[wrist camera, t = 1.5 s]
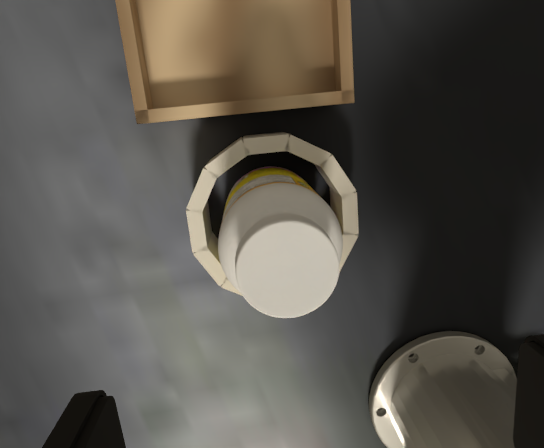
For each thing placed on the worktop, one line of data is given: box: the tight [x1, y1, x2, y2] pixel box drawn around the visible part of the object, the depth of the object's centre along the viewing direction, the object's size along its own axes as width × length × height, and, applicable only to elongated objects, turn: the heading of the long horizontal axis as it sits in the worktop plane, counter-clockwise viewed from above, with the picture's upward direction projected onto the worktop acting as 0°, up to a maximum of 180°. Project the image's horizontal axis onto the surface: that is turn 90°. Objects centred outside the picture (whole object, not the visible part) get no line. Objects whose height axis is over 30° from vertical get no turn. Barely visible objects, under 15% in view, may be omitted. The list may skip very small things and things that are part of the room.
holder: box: [186, 132, 359, 296], centre depth 29 cm, size 11×11×4 cm
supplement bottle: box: [218, 166, 343, 318], centre depth 24 cm, size 7×7×13 cm
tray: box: [115, 0, 354, 124], centre depth 26 cm, size 14×12×2 cm
